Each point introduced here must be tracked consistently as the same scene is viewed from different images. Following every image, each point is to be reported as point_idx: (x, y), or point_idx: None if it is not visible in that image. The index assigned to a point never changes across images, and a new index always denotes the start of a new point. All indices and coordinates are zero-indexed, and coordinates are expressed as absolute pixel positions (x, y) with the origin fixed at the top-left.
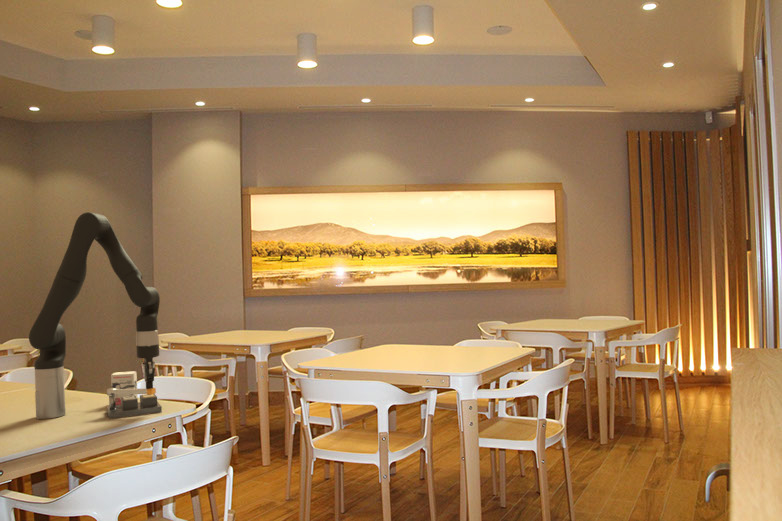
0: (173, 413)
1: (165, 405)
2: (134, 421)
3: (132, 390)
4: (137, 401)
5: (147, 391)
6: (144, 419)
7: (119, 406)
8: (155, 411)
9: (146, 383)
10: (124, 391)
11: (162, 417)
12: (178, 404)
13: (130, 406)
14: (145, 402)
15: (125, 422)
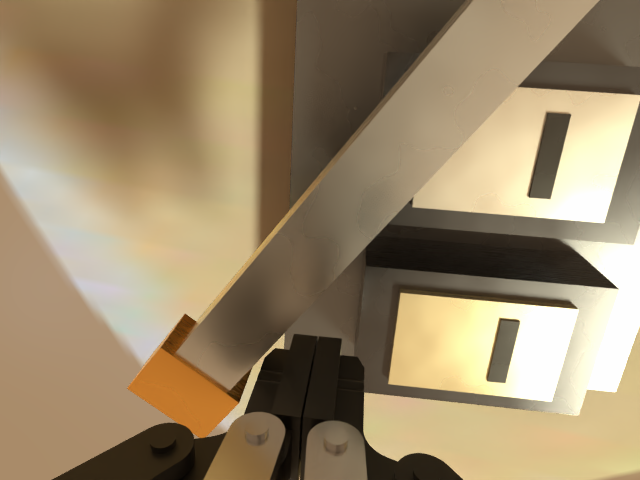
0: None
1: None
2: (61, 102)
3: (307, 195)
4: None
5: (167, 336)
6: (96, 181)
7: (613, 50)
8: None
9: (274, 411)
10: (395, 89)
11: (96, 295)
12: (494, 474)
13: None
14: (362, 276)
15: (59, 30)
